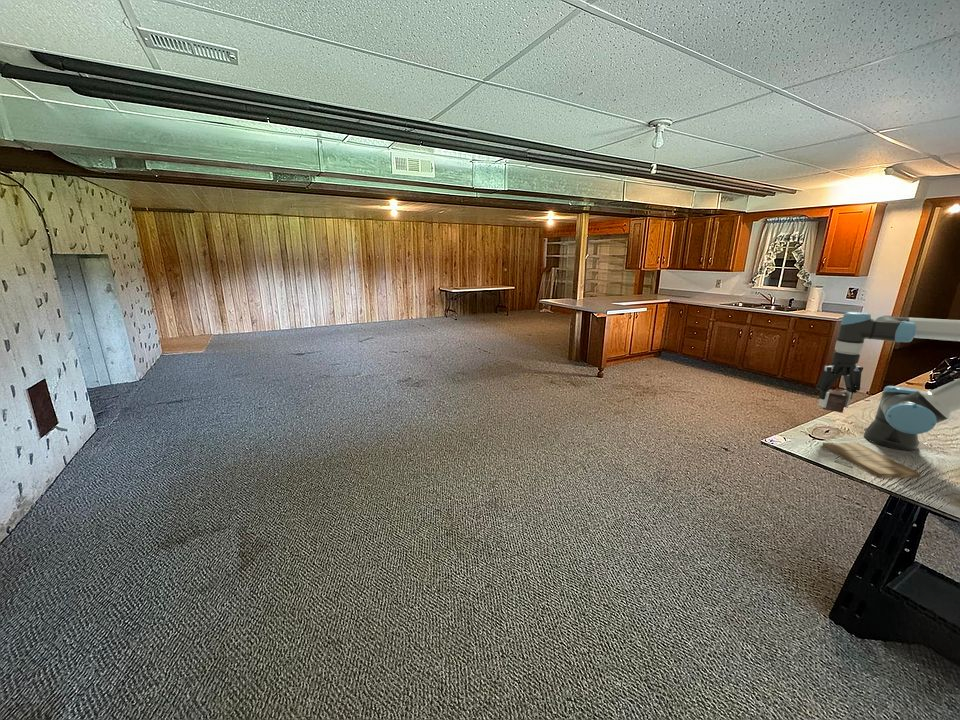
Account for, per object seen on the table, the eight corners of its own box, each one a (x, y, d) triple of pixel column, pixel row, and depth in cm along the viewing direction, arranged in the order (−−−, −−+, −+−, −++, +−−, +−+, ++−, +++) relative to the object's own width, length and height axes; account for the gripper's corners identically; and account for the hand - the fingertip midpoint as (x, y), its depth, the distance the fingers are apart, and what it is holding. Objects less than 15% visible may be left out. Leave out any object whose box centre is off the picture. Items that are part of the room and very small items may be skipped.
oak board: (857, 446, 149) (858, 442, 149) (919, 477, 128) (921, 473, 128) (821, 446, 149) (822, 442, 149) (878, 477, 128) (879, 473, 128)
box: (821, 405, 157) (826, 388, 155) (841, 408, 153) (846, 391, 151) (822, 409, 152) (827, 392, 150) (842, 413, 148) (847, 395, 146)
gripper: (864, 349, 150) (850, 403, 156) (811, 349, 150) (799, 403, 156) (884, 354, 143) (868, 410, 149) (828, 354, 143) (814, 410, 149)
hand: (832, 406), depth 152 cm, fingers closed on box, 8 cm apart
